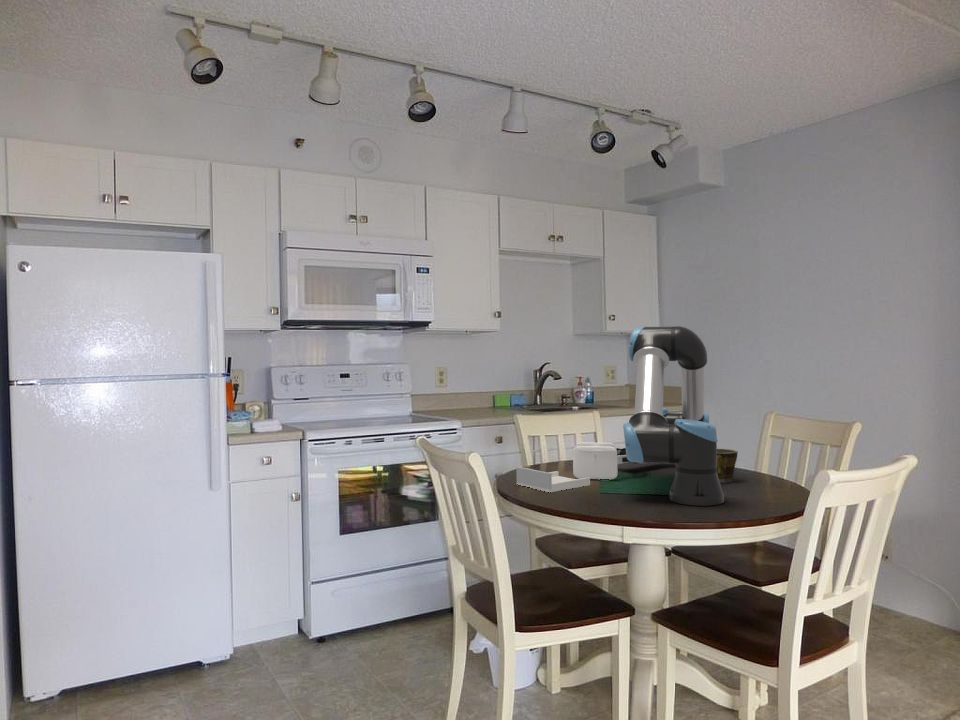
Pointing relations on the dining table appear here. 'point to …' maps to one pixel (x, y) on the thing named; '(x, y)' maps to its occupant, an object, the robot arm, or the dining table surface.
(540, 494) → the dining table surface
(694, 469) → the robot arm
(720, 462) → the ceramic cup
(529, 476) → the tray
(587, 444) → the cable organizer
